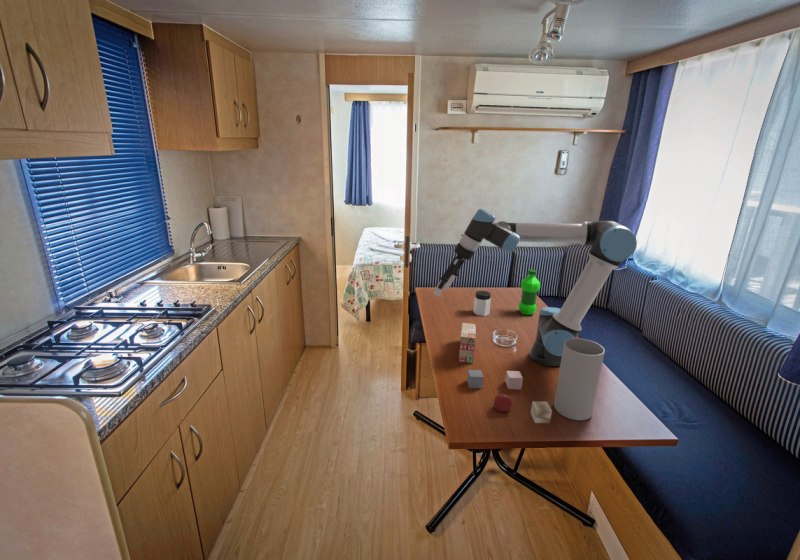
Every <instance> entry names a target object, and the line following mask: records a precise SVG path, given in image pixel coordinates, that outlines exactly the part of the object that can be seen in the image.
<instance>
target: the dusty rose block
mask: <svg viewBox="0 0 800 560" xmlns="http://www.w3.org/2000/svg"><path fill="white" fill-rule="evenodd" d="M505 373H506V374H505V380H504V383H505V382H506V383H505V384H506V387H507V390H522V389H523V388H522V387H523V382H524V381H523V380H524V377H523V376H522V373H521V372H520V371H519V370H506V372H505Z"/></svg>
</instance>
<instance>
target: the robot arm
mask: <svg viewBox="0 0 800 560" xmlns="http://www.w3.org/2000/svg"><path fill="white" fill-rule="evenodd" d="M460 236H461V237H460V239H459V242H458V243H457V244H456V246H455V248H454V250H453V251H454V253H455V254H456V256H455V257H453V258H452V261H451V262H450V264H449V266H448V267H447V268H446V270H445V271H444V273H443V274H442V276H440V277H439V278H438V279H439V282H438V284H437V285H436V287H435V289H434V290H433V292H432V294H433V295H435V296H436V297H438V298H439V297H441V294H442V293H443V291H444V289H447V290H448V289H449V288H450V287H451V285H452V283H453V281H454V279H455V278H456V277H458V276H459V272H460V270H461V268H462V266H463V265H464V263H465V261H466V260H467V261H470V260H472V258H473V257H474V255H475V252H476V251H477V250H478V248H479V246H480V245H481V244H482V242H483V240H485V241H487V242H489V243H491V244H492V245H494V246H496V247H498V248H499V249H501V250H502V251H505V252H507V253H512V252H514V251H515V249H516V248H517V246H518V245H519V242H524V243H525V242H526V243H527V242H531V243H537V242H538V243H559V244H560V243H561V244H562V243H563V244H564V243H565V244H580V245H581V246H582V247H586V246H587V247H590V249H589V251H588V257H589V260H588V261H587V263H586V265H585V266H584V269H583V270H582V272H581V273H580V275H579V277H578V278H577V281H575V284H574V285H573V288H572V289H571V291H570V292H569V294H568V296H567V298H566V299H565V301H564V303H563V305H562V307H561V308H559V307H551V306H548V307H547V306H546V307H542V308H540V311H539V314H538V315H539V316H538V322H537V330H536V337H535V340H534V342H533V344H532V345H531V348H530V350H529V358H530V359H532V361H534V362H535V363H537V364H539V365H543V366H547V367H560V365H561V359H562V353H563V347H564V342H565V340H567V339H571V338H578V336H579V334H580V332H581V331H582V326H581V322H582V321H583V319H584V317H585V316H586V314H587V312H588V311H589V309H590V307H591V305H592V304H593V303H594V301H595V299H596V298H597V296H598V295H599V293H600V291H601V289H603V286H604V285H605V282H606V281H607V279H608V278H609V276H610V274H611V273H612V271H613V270H614V269H618V268H620V266H621V265H622V264H623V262H624V260H625V261H626V260H627V259H630V257H631V256H632V255H633V254H634V253H635V251H636V250H637V246H638V245H637V243H638V241H637V238H636V235H635V234H634V233H633V231H632V230H631V229H630V228H628V227H626V226H624V225H622V224H620V223H619V222H617V221H613V220H592V221H591V220H589V221H587V220H585V221H582V222H581V223H551V222H549V223H548V222H547V223H546V222H545V223H543V222H507V221H505V220H501V221H498V222H496V215H494V214H493V213H491V212H490V211H488V210H486V209H484V208H479V209H477V211H476V212H475V213H474V215H473V217H472V218H471V220H470V222H469V224H468V225H467V227H466V229H465V231H464V232H463V233H462V234H460Z"/></svg>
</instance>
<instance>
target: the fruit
mask: <svg viewBox="0 0 800 560" xmlns="http://www.w3.org/2000/svg"><path fill="white" fill-rule="evenodd" d="M496 389H497V390H498V395H496V396H495V397H494V400H493V405H494V407H495V408H494V409H496V410H497V411H498V412H499V413H500V412H501V413H507V412H509V411H510V410H511V409H512V406H513V402H512V401H513V400H511V397H510V396H509V395H507V394H506V393H505V394H504V393H500V391H499V387H497V388H496Z"/></svg>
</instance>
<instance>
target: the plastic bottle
mask: <svg viewBox="0 0 800 560" xmlns="http://www.w3.org/2000/svg"><path fill="white" fill-rule="evenodd" d="M527 271H528V272H527V274H528V276H526V277H525V278H523V279H522V280H521V282H520V288H521V296H520V298H521V300H520V302H519V304H518V310H519V311H520V313H521V314H522V315H525V316H530V315H532V314H535V312H536V311H537V310H538V309H537V308H538V307H537V303H536V301H537V297H538V292H539V291H540V290H541V283H540V281H539V279H537V277H536V275H537V270H535V269H528V270H527Z"/></svg>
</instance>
